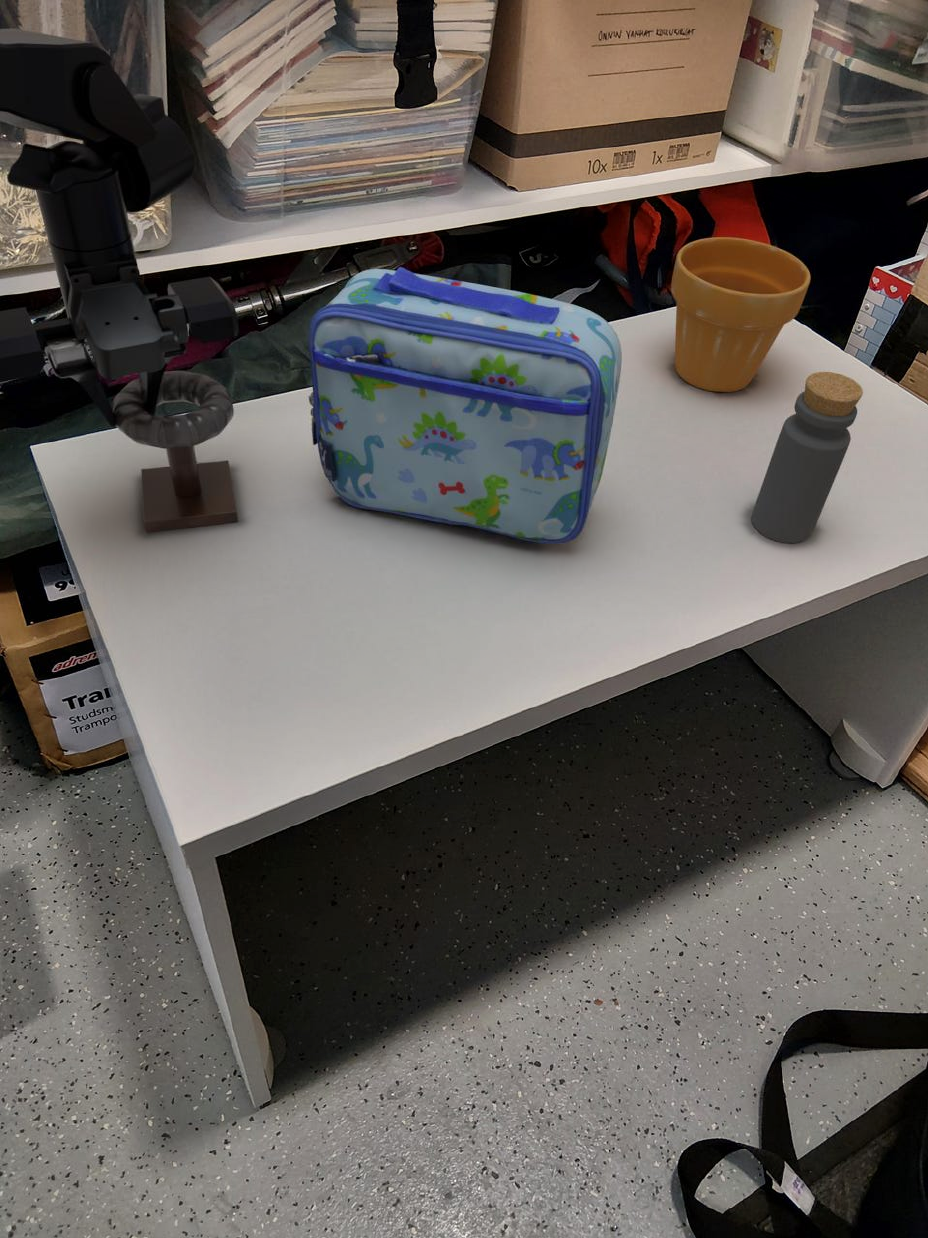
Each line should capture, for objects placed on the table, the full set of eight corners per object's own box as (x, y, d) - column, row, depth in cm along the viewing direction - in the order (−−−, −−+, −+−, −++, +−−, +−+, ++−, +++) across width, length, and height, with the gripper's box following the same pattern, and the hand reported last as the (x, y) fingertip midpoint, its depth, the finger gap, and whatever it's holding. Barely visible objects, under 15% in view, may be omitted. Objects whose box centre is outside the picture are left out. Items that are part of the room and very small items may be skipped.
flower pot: (791, 367, 111) (828, 260, 102) (750, 420, 102) (786, 308, 93) (680, 331, 116) (706, 225, 106) (632, 378, 107) (656, 268, 98)
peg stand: (146, 532, 83) (128, 456, 77) (143, 479, 88) (126, 403, 82) (238, 521, 85) (227, 446, 79) (229, 470, 90) (219, 395, 84)
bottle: (785, 499, 92) (837, 362, 82) (825, 535, 89) (885, 396, 78) (738, 513, 90) (785, 374, 80) (777, 550, 86) (832, 410, 76)
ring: (118, 459, 76) (112, 432, 74) (114, 396, 83) (108, 370, 81) (240, 447, 79) (237, 420, 77) (227, 387, 85) (224, 361, 83)
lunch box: (303, 503, 87) (287, 288, 72) (348, 442, 94) (341, 235, 80) (575, 572, 83) (617, 358, 68) (600, 502, 90) (642, 295, 75)
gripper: (-33, 306, 59) (33, 502, 70) (252, 260, 66) (271, 445, 77) (-57, 236, 66) (6, 426, 77) (203, 202, 73) (227, 380, 84)
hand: (131, 420), depth 78 cm, fingers closed on ring, 3 cm apart
